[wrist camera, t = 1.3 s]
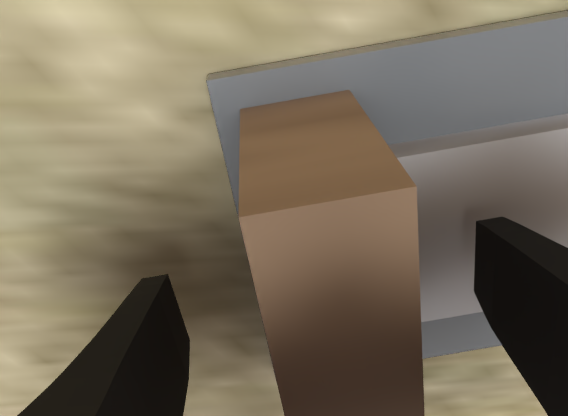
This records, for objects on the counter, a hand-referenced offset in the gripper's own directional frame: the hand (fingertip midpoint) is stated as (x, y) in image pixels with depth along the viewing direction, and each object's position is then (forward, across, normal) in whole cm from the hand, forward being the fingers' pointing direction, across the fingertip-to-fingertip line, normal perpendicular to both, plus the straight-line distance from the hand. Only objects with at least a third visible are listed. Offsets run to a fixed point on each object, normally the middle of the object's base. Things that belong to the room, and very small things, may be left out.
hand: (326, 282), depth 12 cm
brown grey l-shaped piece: (+2, -4, 0) cm, 4 cm away
